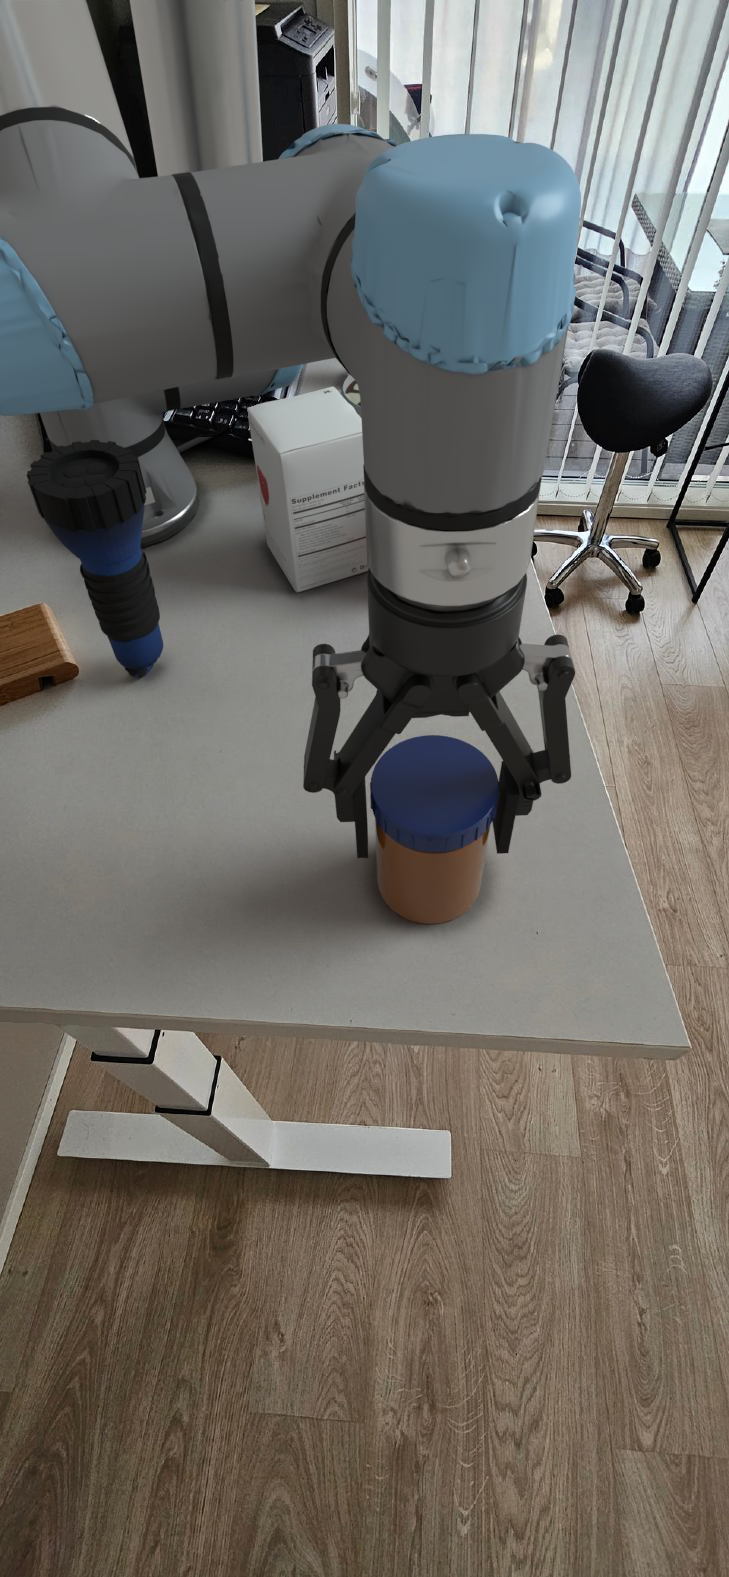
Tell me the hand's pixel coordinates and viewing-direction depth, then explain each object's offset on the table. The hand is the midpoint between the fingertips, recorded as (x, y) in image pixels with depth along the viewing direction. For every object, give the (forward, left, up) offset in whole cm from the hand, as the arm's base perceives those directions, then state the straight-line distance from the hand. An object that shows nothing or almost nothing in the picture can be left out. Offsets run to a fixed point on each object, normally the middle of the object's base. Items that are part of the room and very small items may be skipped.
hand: (431, 839), depth 56 cm
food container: (-54, -8, -5) cm, 55 cm away
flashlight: (-21, -26, -5) cm, 34 cm away
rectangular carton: (-38, -12, -5) cm, 40 cm away
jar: (0, 0, -5) cm, 5 cm away
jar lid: (0, 0, +6) cm, 6 cm away
